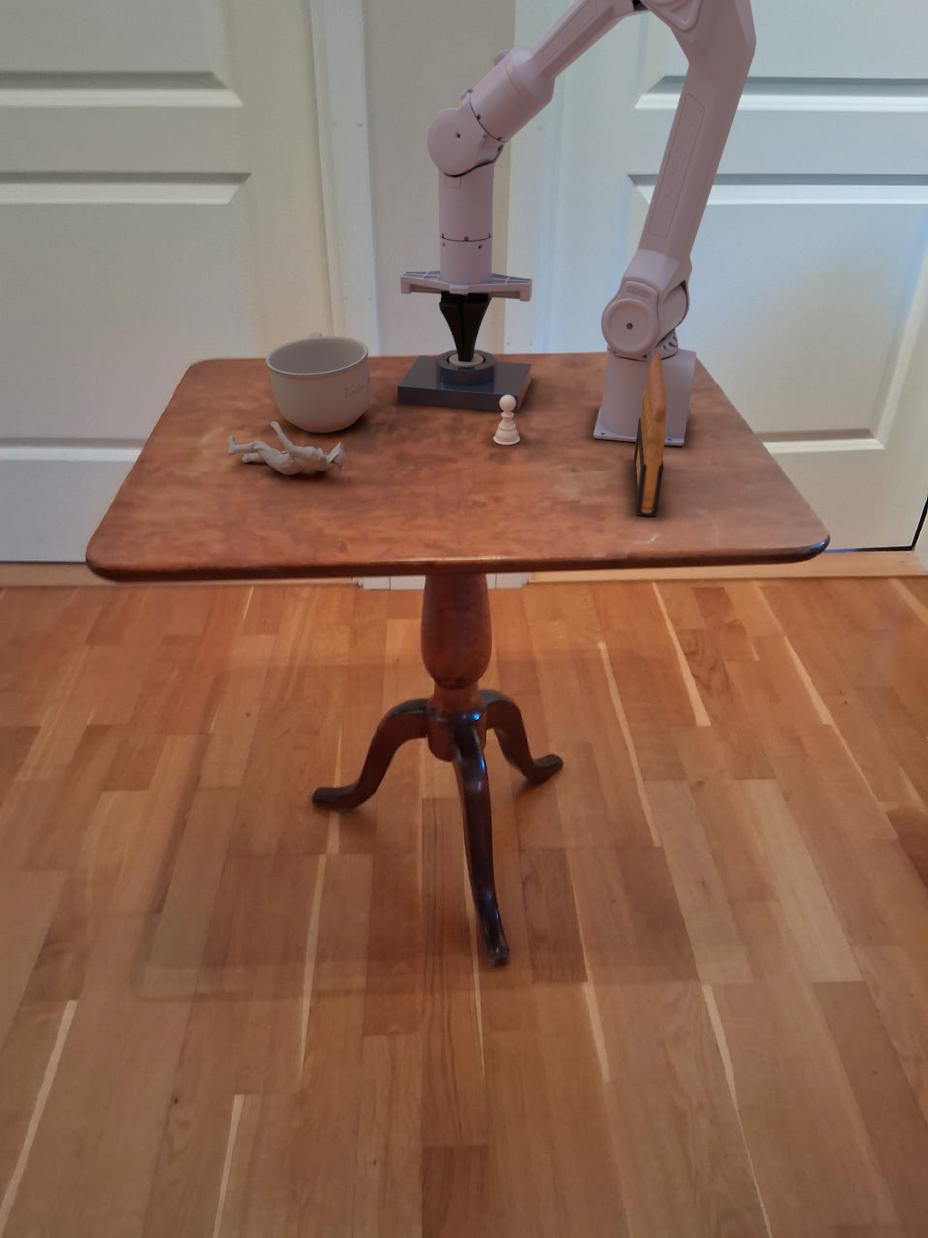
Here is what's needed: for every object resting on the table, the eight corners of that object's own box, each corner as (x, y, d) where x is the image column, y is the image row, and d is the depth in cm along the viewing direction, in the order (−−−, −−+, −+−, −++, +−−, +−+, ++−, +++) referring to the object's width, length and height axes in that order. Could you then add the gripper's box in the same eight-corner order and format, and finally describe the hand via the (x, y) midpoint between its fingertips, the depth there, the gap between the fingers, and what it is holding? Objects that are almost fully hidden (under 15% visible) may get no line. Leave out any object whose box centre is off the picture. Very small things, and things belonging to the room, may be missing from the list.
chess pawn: (490, 444, 95) (491, 399, 92) (496, 433, 97) (497, 389, 94) (517, 447, 94) (518, 402, 91) (521, 435, 96) (523, 391, 93)
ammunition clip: (656, 517, 82) (674, 392, 75) (636, 516, 82) (652, 391, 75) (651, 464, 91) (667, 348, 84) (633, 463, 91) (647, 347, 84)
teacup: (367, 443, 95) (362, 370, 90) (265, 442, 95) (255, 369, 91) (380, 392, 106) (375, 324, 102) (289, 391, 106) (280, 324, 102)
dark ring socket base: (531, 381, 109) (532, 348, 107) (517, 414, 101) (518, 379, 99) (419, 372, 111) (418, 340, 109) (398, 403, 103) (396, 370, 101)
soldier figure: (264, 456, 95) (363, 435, 90) (263, 499, 94) (363, 480, 89) (217, 428, 88) (321, 404, 83) (214, 474, 87) (320, 453, 82)
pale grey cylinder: (486, 368, 106) (486, 353, 105) (479, 380, 103) (479, 366, 102) (453, 365, 107) (453, 351, 106) (445, 378, 104) (445, 363, 103)
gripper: (390, 240, 94) (396, 366, 102) (527, 247, 91) (522, 376, 99) (408, 224, 99) (412, 345, 107) (537, 231, 97) (531, 354, 105)
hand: (466, 358), depth 104 cm, fingers closed, pressing on pale grey cylinder
